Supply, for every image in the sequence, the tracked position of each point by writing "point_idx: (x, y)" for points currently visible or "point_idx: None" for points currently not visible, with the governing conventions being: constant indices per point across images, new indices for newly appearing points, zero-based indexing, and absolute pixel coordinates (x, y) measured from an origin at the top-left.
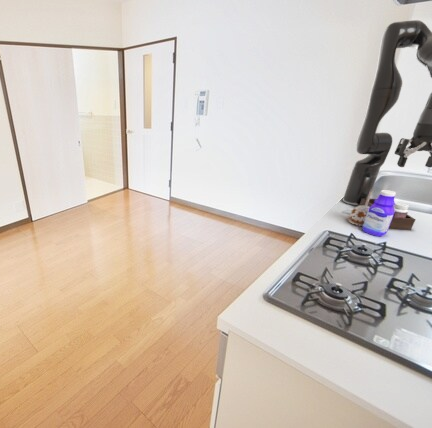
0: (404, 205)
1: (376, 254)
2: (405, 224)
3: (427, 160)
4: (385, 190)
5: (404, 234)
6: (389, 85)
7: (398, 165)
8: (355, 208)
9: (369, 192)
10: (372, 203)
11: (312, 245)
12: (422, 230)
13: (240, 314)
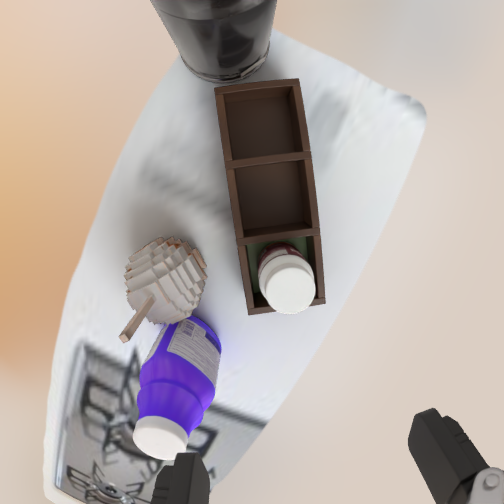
0: (294, 303)
1: None
2: None
3: (440, 448)
4: (148, 435)
5: (280, 324)
6: None
7: (179, 459)
8: (127, 284)
9: (124, 329)
10: (264, 93)
11: (65, 409)
12: (349, 278)
13: (51, 497)
